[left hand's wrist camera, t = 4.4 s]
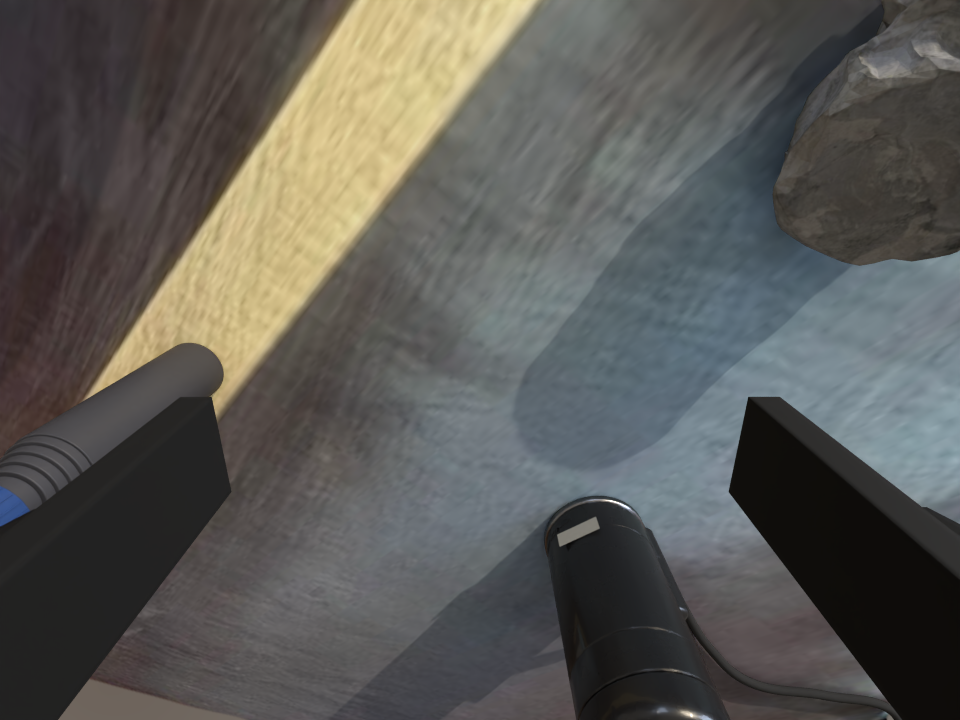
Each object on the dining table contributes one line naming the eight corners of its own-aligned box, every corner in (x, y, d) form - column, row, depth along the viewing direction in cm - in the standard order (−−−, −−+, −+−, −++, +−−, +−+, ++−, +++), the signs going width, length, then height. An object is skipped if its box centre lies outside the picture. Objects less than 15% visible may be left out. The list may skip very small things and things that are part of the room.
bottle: (233, 387, 43) (33, 568, 24) (182, 401, 43) (-54, 589, 24) (207, 336, 41) (-30, 485, 22) (155, 351, 42) (-122, 510, 22)
